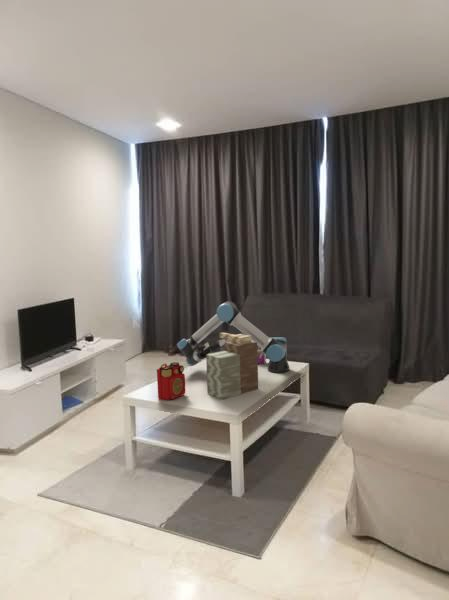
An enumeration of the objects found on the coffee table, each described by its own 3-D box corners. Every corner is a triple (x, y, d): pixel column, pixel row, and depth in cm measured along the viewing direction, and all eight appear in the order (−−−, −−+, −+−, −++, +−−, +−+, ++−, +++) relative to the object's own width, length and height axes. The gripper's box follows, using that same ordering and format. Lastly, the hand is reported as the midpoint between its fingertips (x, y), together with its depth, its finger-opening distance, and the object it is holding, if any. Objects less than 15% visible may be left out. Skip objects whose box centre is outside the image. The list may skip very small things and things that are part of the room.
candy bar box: (250, 363, 340) (249, 341, 338) (251, 361, 344) (251, 340, 343) (264, 364, 336) (264, 342, 334) (266, 362, 341) (265, 340, 339)
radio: (170, 401, 260) (169, 367, 257) (157, 399, 265) (155, 365, 263) (187, 393, 273) (186, 361, 271) (174, 391, 278) (172, 359, 276)
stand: (207, 393, 272) (205, 346, 268) (243, 384, 289) (242, 339, 285) (222, 399, 261) (220, 349, 257) (258, 389, 278) (257, 342, 274)
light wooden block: (216, 338, 288) (216, 332, 288) (226, 337, 293) (226, 331, 293) (241, 344, 269) (240, 337, 269) (251, 342, 274) (251, 335, 274)
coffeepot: (218, 362, 346) (217, 338, 344) (215, 359, 355) (214, 336, 353) (237, 360, 351) (237, 336, 349) (234, 357, 360) (233, 334, 358)
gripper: (217, 356, 316) (233, 345, 301) (187, 362, 301) (203, 351, 285) (213, 346, 318) (229, 334, 303) (183, 352, 303) (199, 340, 287)
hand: (216, 342), depth 294 cm, fingers open, 13 cm apart
